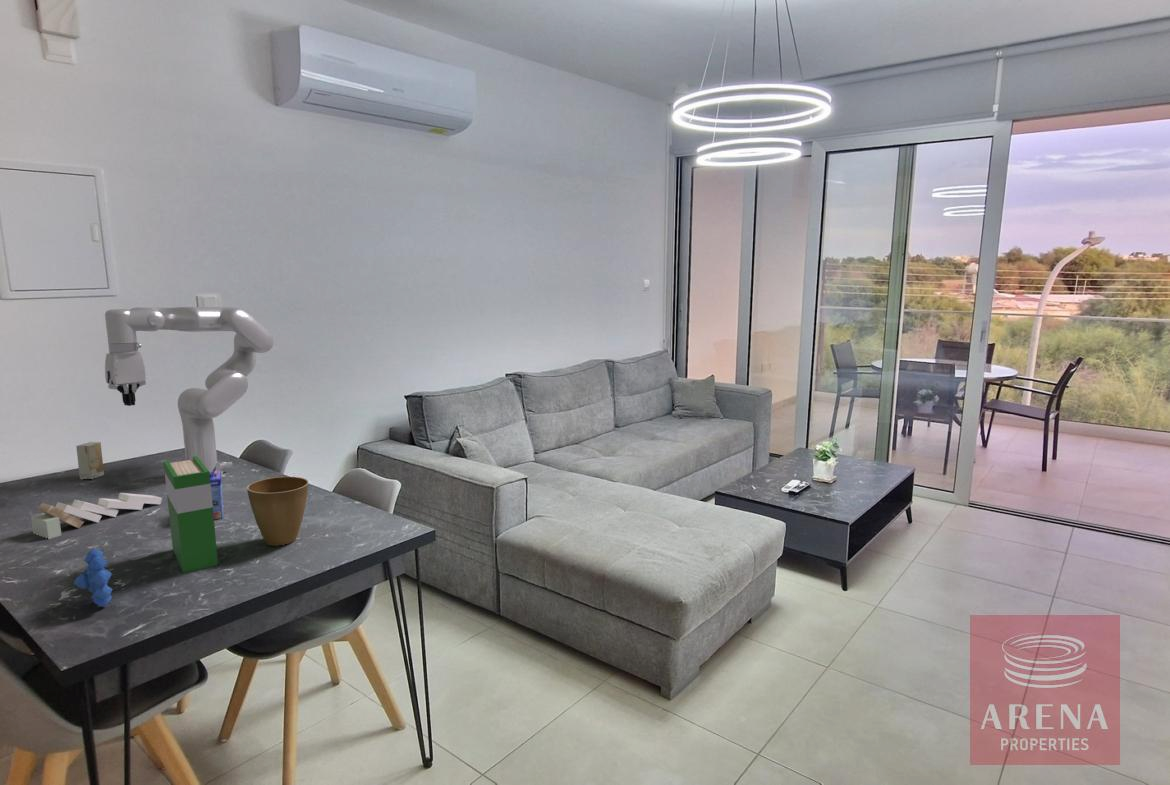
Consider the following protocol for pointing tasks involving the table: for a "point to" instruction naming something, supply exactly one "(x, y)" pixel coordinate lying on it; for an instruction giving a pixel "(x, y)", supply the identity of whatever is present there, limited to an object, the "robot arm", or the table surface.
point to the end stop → (46, 525)
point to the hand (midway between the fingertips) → (129, 404)
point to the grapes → (96, 578)
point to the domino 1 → (60, 515)
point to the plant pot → (278, 507)
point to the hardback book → (191, 514)
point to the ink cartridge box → (217, 493)
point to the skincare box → (90, 460)
